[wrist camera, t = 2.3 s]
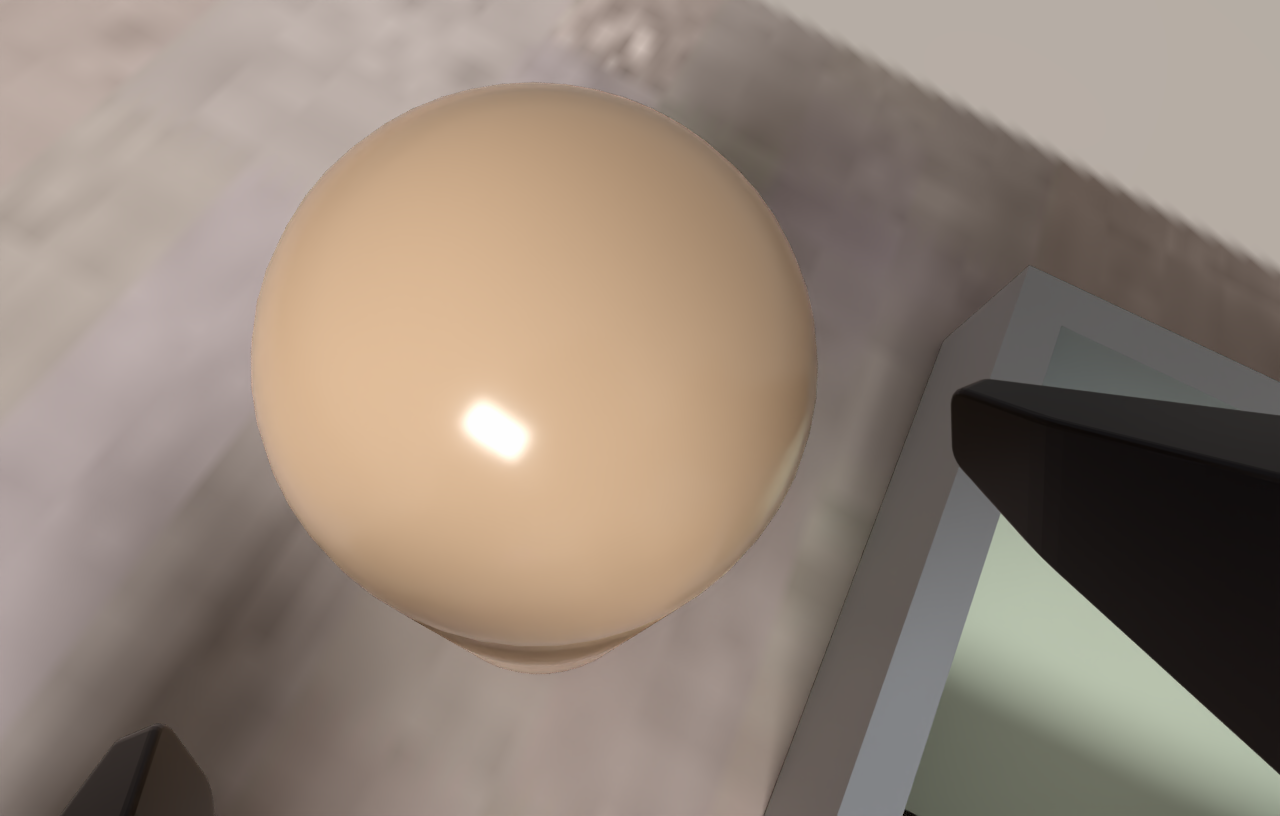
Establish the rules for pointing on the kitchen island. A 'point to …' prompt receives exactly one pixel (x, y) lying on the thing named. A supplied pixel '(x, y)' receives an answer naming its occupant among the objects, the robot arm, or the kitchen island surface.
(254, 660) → the kitchen island surface
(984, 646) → the carton frame
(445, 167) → the beige rounded cylinder
